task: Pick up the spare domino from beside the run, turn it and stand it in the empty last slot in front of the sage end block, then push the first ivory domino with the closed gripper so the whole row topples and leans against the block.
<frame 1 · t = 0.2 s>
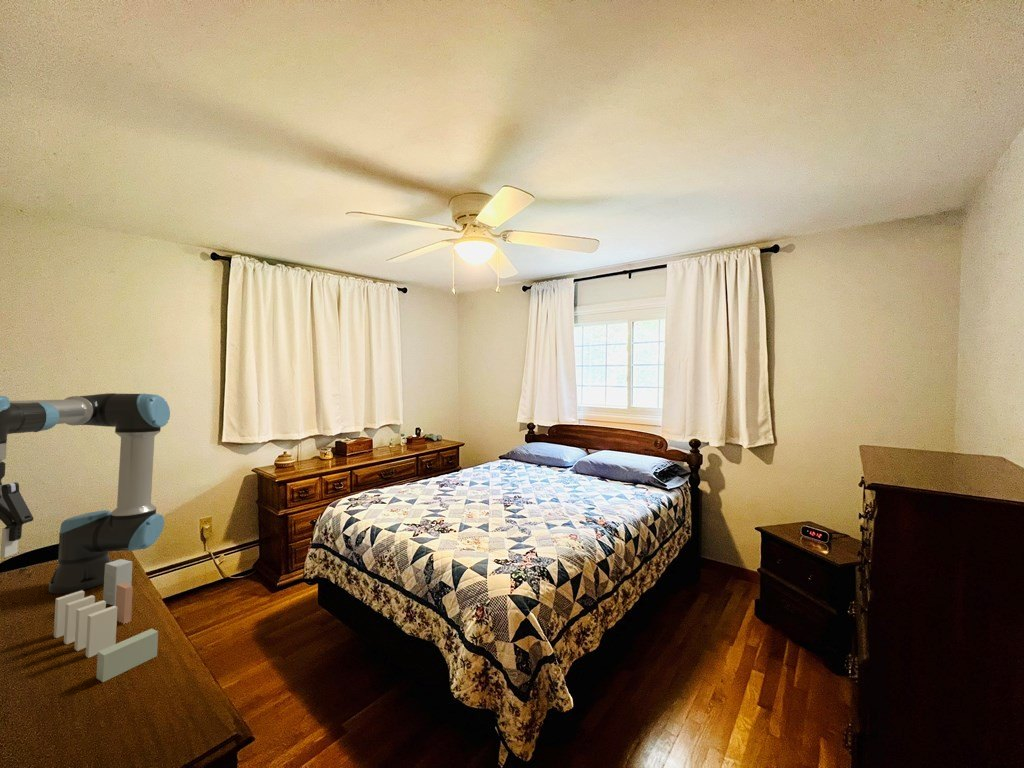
end block: (128, 666, 94), on the table
domino 3: (89, 644, 102), on the table
domino 1: (68, 632, 107), on the table
skincare box: (116, 601, 123), on the table
spare domino: (122, 620, 113), on the table
domino 4: (100, 651, 100), on the table
domino 2: (78, 638, 104), on the table
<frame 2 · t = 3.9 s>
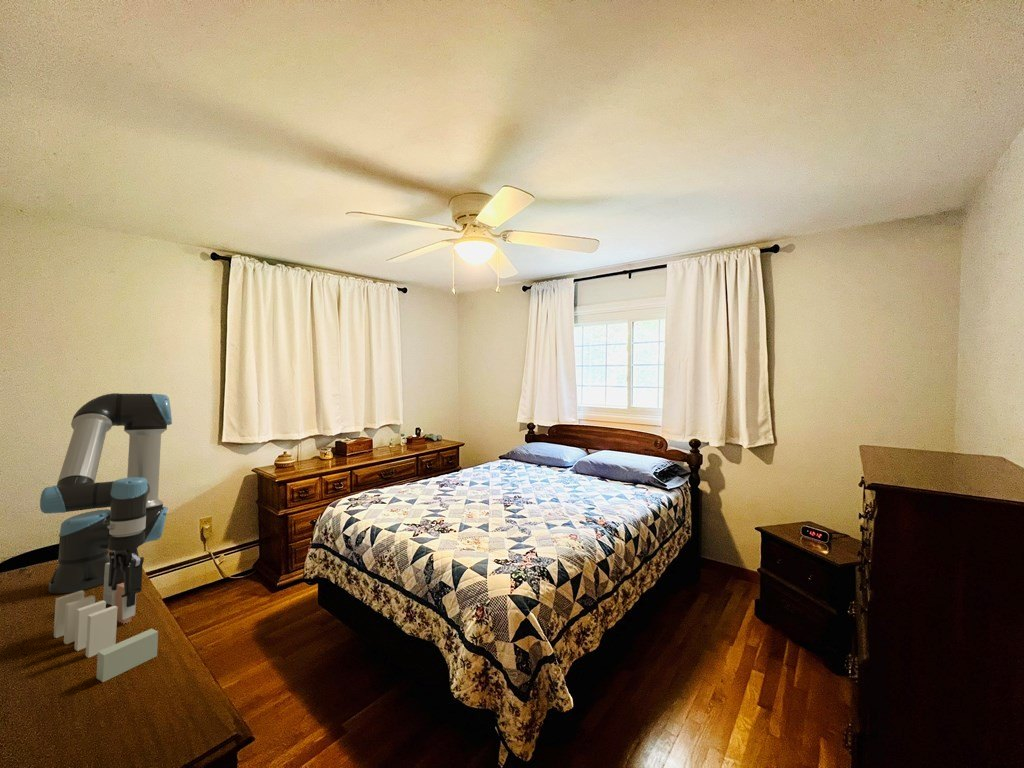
hand: (123, 614, 113), 2 cm above the table, tool pointing down, fingers closed on spare domino, 5 cm apart
spare domino: (122, 620, 113), on the table, touching gripper
everything else where it was.
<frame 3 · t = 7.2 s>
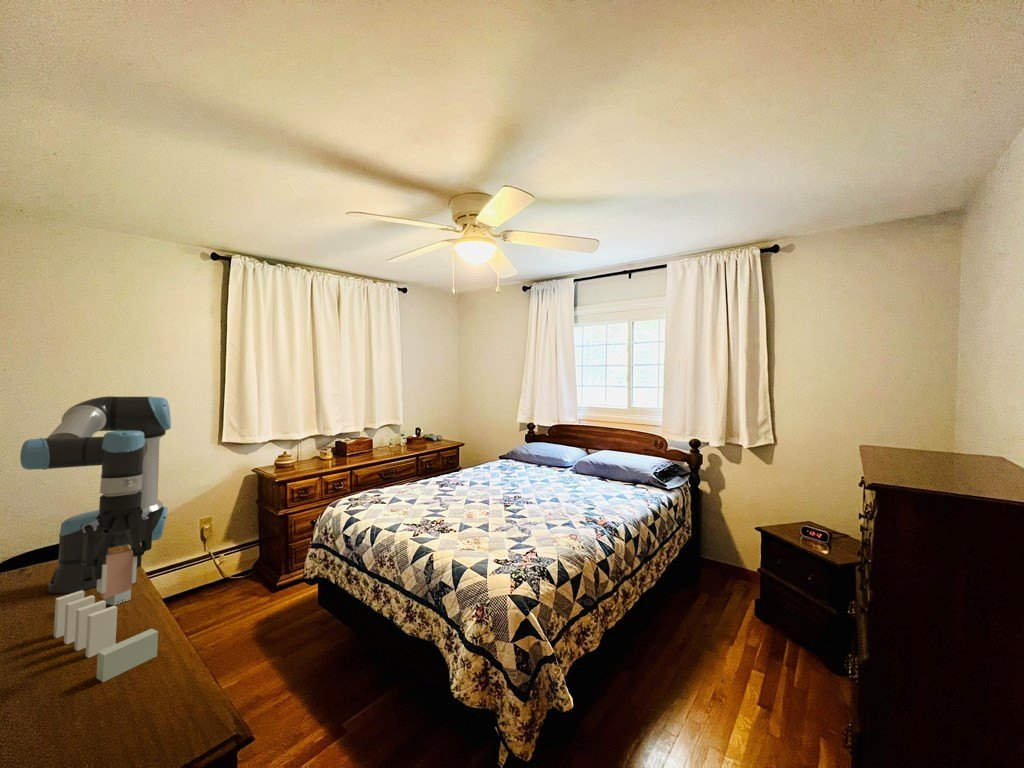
hand: (116, 586, 98), 17 cm above the table, tool pointing down, fingers closed on spare domino, 5 cm apart
spare domino: (116, 593, 98), point 15 cm above the table, touching gripper
everything else where it was.
when the fingers open (3 cm above the table, at t = 10.3 s): spare domino drops 1 cm, on the table.
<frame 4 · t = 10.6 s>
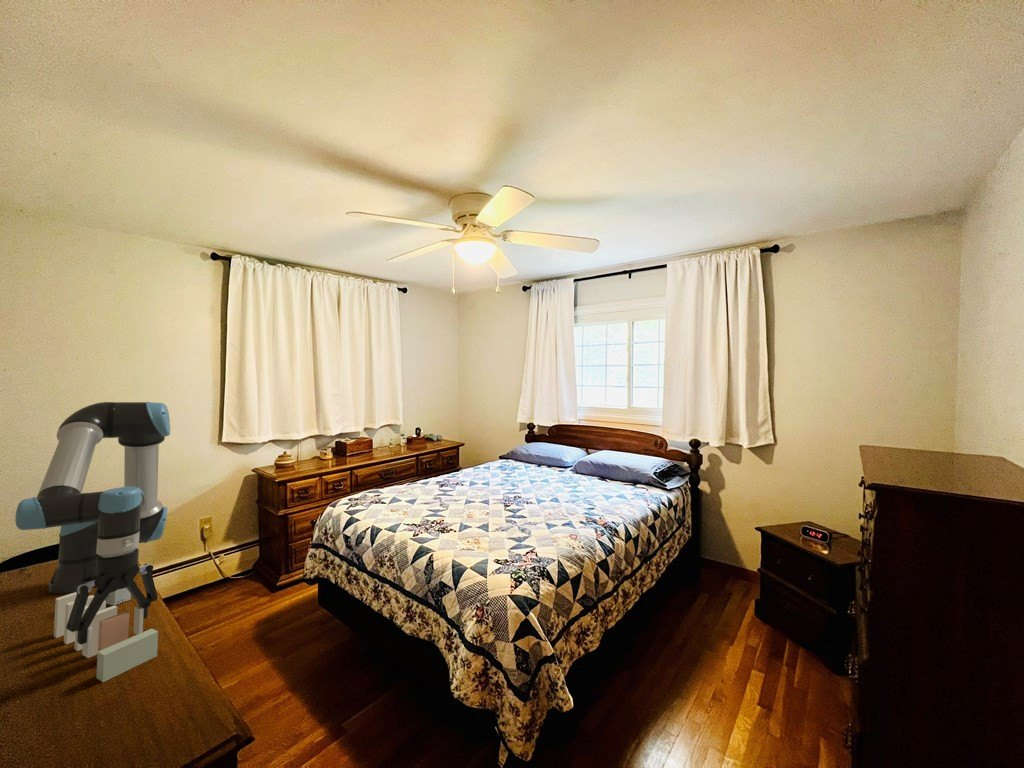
hand: (113, 643, 97), 3 cm above the table, tool pointing down, fingers open, 9 cm apart
spare domino: (112, 657, 97), on the table
everything else where it was.
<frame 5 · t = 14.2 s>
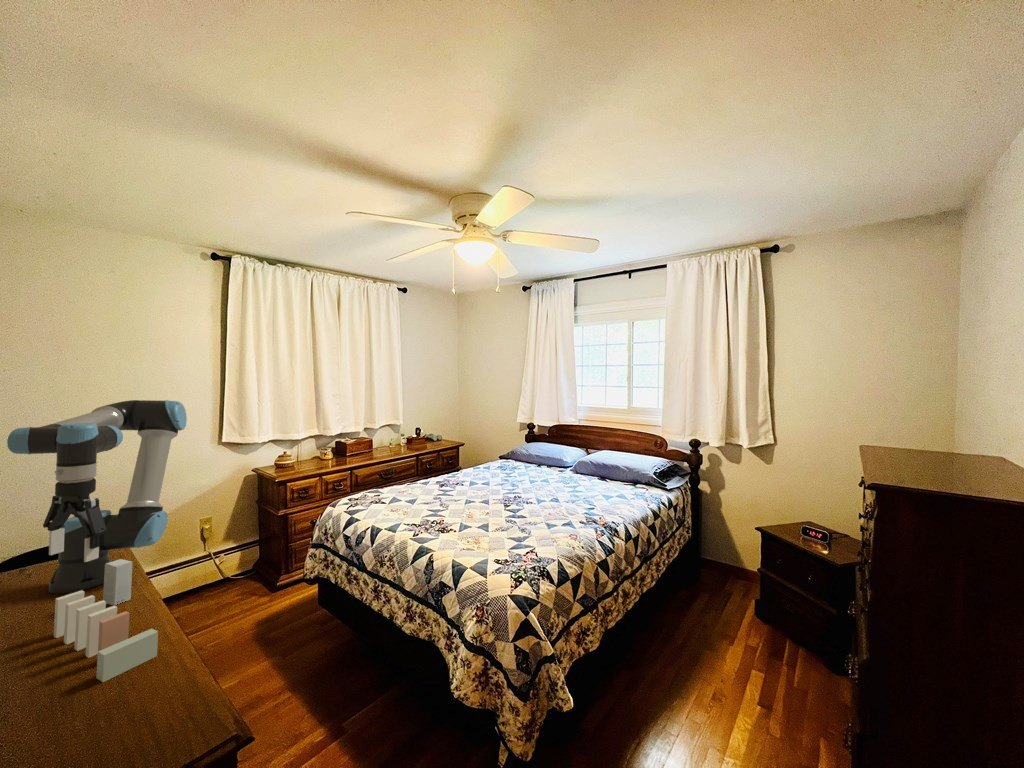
hand: (73, 556, 109), 20 cm above the table, tool pointing down, fingers open, 13 cm apart
nothing on the table moved.
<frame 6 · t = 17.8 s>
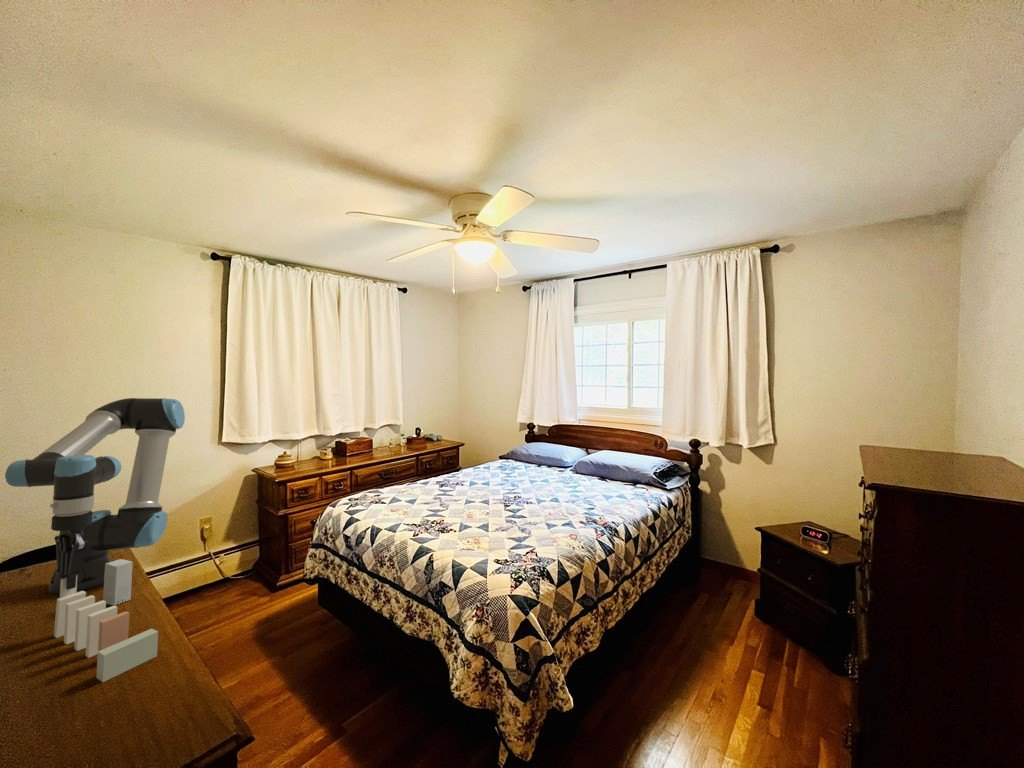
hand: (67, 599, 107), 9 cm above the table, tool pointing down, fingers closed
nothing on the table moved.
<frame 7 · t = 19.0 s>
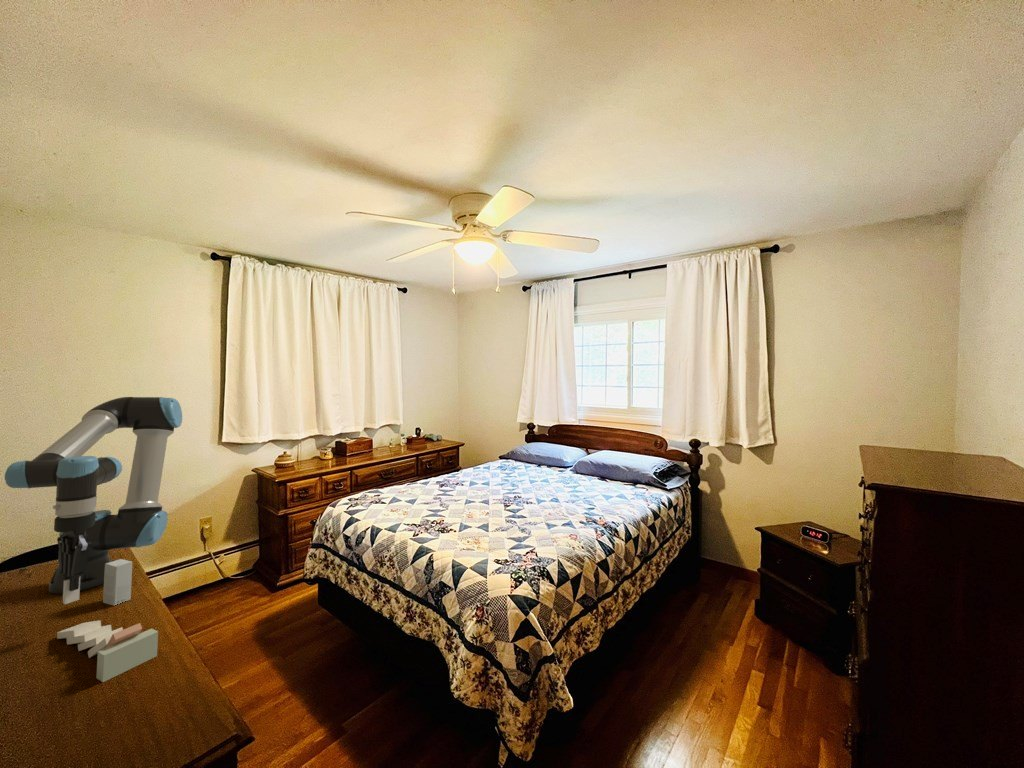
hand: (70, 601, 107), 8 cm above the table, tool pointing down, fingers closed
domino 3: (91, 642, 102), point 1 cm above the table, tilted 65°, touching domino 2, domino 4
domino 1: (70, 630, 106), point 1 cm above the table, tilted 72°, touching domino 2
spare domino: (113, 656, 97), on the table, tilted 39°, touching domino 4, end block
domino 4: (101, 648, 99), point 1 cm above the table, tilted 57°, touching domino 3, spare domino
domino 2: (80, 636, 104), point 1 cm above the table, tilted 71°, touching domino 1, domino 3
everything else where it was.
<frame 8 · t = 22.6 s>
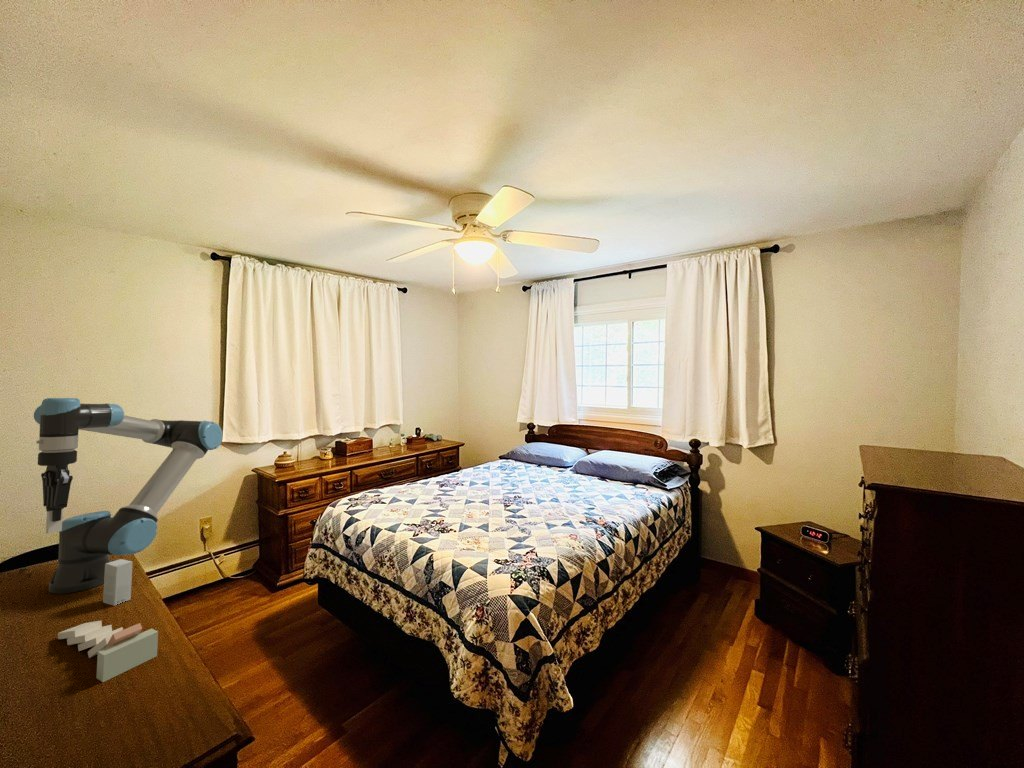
hand: (53, 531, 114), 24 cm above the table, tool pointing down, fingers closed
at the end: spare domino tilted 40°; spare domino inside the target area (0.2 cm from its centre), point 0.5 cm above the table; domino 1 tilted 72° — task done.
